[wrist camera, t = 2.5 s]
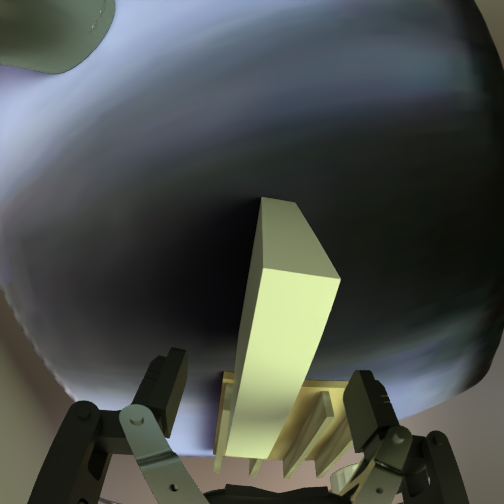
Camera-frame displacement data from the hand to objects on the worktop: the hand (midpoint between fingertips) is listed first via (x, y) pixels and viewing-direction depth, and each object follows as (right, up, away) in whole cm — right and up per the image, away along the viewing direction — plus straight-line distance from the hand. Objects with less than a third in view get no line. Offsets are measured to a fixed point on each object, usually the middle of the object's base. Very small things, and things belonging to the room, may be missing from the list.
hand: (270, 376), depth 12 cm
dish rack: (+3, -15, +17) cm, 23 cm away
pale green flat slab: (0, +4, +10) cm, 10 cm away
